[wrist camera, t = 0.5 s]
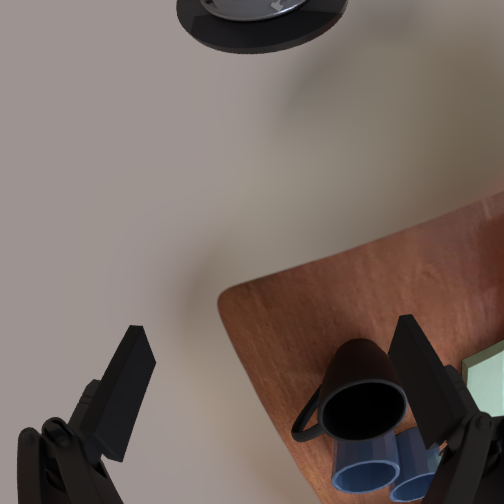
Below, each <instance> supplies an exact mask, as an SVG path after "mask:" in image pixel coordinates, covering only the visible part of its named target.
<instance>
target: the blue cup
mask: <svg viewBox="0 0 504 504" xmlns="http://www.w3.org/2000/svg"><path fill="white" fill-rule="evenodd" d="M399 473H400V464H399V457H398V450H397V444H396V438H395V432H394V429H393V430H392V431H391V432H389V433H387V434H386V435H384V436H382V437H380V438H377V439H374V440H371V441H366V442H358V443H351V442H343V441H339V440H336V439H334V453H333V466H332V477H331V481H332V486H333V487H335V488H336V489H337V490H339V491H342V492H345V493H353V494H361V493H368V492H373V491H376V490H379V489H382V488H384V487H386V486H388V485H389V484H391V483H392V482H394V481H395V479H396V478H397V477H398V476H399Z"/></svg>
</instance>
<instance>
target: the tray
mask: <svg viewBox="0 0 504 504" xmlns="http://www.w3.org/2000/svg"><path fill="white" fill-rule="evenodd" d="M462 380H463V381H464V382H465V384H466V387H467V388H468V390H469V391H470V393H471V395H472V397H473V399H474V401H475V403H476V405H477V406H478V408H479V410H480V411H483V412H487V413H489V414H490V415H491V417H495V416H504V340H502V341H500V342H498V343H496V344H494V345H492V346H490V347H488V348H486V349H484V350H482V351H480V352H478V353H476V354H474V355H472V356H470V357H468V358H465V359H463V360H462Z"/></svg>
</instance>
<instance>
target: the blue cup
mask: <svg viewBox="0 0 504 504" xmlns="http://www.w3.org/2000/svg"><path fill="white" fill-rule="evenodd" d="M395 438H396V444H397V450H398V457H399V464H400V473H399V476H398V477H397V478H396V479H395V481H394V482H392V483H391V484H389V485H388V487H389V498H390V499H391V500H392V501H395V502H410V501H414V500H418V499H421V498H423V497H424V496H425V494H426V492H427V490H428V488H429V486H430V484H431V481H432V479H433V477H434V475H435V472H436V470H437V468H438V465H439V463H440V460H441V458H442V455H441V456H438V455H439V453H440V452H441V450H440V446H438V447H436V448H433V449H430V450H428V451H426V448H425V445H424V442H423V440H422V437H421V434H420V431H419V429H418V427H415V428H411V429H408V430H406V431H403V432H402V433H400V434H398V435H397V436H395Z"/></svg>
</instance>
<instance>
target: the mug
mask: <svg viewBox="0 0 504 504" xmlns="http://www.w3.org/2000/svg"><path fill="white" fill-rule="evenodd" d="M317 407H318V412H317V419H318V422H319V423H317V424H316V425H314V426H313V427H311V428H309V429H307V430H305V431H303V430H304V427H305V426H306V424H307V422H308V421H309V419H310V417H311V416H312V414H313V413H314V411H315V410H316V408H317ZM407 408H408V400H407V397H406V395H405V393H404V390H403V388H402V385H401V383H400V381H399V378H398V376H397V374H396V371H395V369H394V367H393V364H392V362H391V360H390V358H389V357H388V355H387V354H386V353H385V352H384V351H383V350H382V349H381V348H379V347H378V346H377V344H376V343H374V342H373V341H371V340H368V339H362V338H361V339H354V340H350V341H348V342H346V343H344V344H343V345H342V346H341V347H340V348H339V349H338V350H337V352H336V354H335V356H334V358H333V359H332V361H331V363H330V365H329V366H328V369H327V371H326V373H325V376H324V379H323V382H322V384H321V385H320V386H319V388H318V389H317V390H316V392H315V393H314V394H313V396H312V397H311V399H310V400H309V402H308V403H307V404H306V406H305V407H304V409H303V410H302V411H301V413H300V414H299V416H298V417H297V419H296V420H295V422H294V424H293V426H292V430H291V434H292V437H293V439H294V440H295V441H297V442H305V441H308V440H311V439H313V438H316V437H318V436H320V435H321V434H323V433H326V434H327V435H329V436H330V437H332V438H334V439H336V440H339V441H343V442H351V443H358V442H366V441H371V440H374V439H377V438H380V437H382V436H384V435H386V434H387V433H389V432H391V431H392V430H393V429H394V428H396V427H397V426H398V425H399V424H400V422H401V421H402V420H403V418H404V416H405V415H406V412H407Z"/></svg>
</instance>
